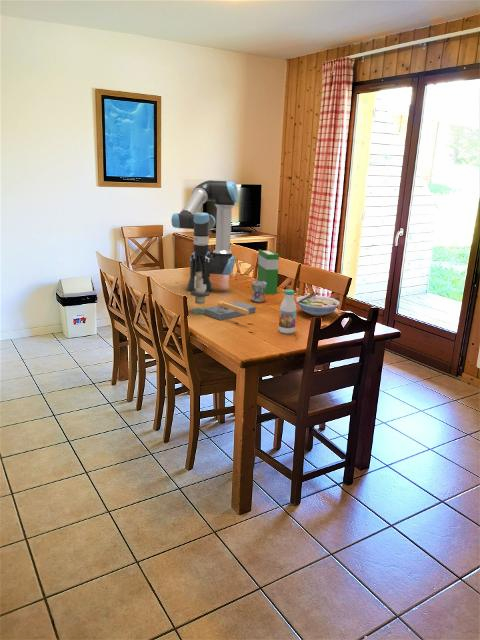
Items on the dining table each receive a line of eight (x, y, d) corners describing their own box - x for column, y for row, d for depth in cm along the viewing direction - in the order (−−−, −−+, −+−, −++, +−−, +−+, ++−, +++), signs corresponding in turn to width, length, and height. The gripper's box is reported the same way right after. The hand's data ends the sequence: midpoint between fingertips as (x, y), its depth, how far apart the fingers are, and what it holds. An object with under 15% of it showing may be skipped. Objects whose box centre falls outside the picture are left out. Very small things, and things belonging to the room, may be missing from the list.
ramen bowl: (327, 324, 251) (329, 308, 248) (286, 315, 262) (287, 300, 259) (345, 312, 271) (347, 298, 268) (306, 305, 282) (308, 291, 280)
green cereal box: (256, 286, 319) (258, 249, 312) (267, 286, 321) (270, 249, 314) (265, 294, 303) (267, 254, 296) (276, 293, 305) (279, 254, 297)
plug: (187, 302, 261) (187, 271, 257) (201, 299, 268) (202, 269, 263) (198, 306, 255) (198, 275, 250) (212, 303, 261) (213, 273, 256)
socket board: (204, 314, 259) (204, 303, 257) (239, 306, 274) (239, 296, 272) (220, 320, 250) (220, 309, 248) (255, 312, 265) (255, 302, 263)
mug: (267, 303, 283) (268, 284, 280) (251, 303, 282) (252, 284, 279) (264, 297, 295) (264, 279, 292) (248, 297, 294) (249, 279, 290)
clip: (221, 304, 256) (221, 300, 255) (250, 314, 242) (250, 309, 241) (216, 305, 253) (216, 301, 253) (245, 315, 239) (245, 311, 239)
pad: (187, 310, 263) (187, 309, 263) (201, 308, 269) (201, 307, 269) (198, 315, 257) (198, 313, 257) (212, 312, 263) (212, 311, 262)
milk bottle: (277, 328, 241) (279, 288, 235) (293, 328, 241) (296, 288, 235) (279, 333, 233) (282, 292, 227) (296, 334, 234) (299, 292, 228)
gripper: (184, 242, 256) (184, 286, 263) (206, 247, 243) (205, 293, 250) (196, 241, 261) (195, 284, 268) (218, 246, 248) (216, 291, 255)
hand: (200, 289), depth 259 cm, fingers closed on plug, 5 cm apart
